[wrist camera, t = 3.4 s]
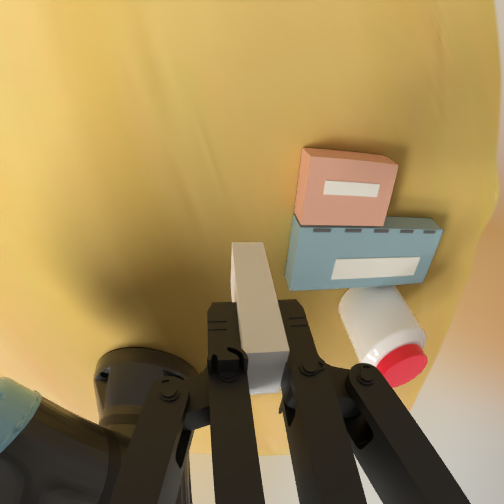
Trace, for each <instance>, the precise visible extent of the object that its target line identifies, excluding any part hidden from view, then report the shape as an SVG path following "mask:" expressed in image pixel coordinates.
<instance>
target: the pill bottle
mask: <svg viewBox="0 0 504 504" xmlns="http://www.w3.org/2000/svg"><path fill="white" fill-rule="evenodd" d="M338 312H339V316H340V318H341V320H342V323H343V325H344V327H345V329H346V332H347V334H348V337H349V339H350V341H351V344H352V346H353V348H354V351H355V353H356V356H357V358H358V360H359V363H368V364H371V365H373V366H375V367H376V368H377V369H378V370H379V371H380V372H381V373H382V375H383V376H384V377H385V379H386V380H387V382H388V383H389V384H390V386H391V387H392V388H393V387H397V386H400V385H403V384H405V383H407V382H409V381H410V380H412V379H413V378H415V377H416V376H417V375H418V374H420V373H421V372H422V370H423V369H424V368H425V366H426V364H427V361H428V360H427V357H426V355H425V353H424V351H423V348H424V345H425V343H426V334H425V332H424V330H423V328H422V327H421V325H420V323H419V322H418V320H417V319H416V317H415V315H414V314H413V312H412V311H411V309H410V307H409V306H408V304H407V303H406V301H405V300H404V298H403V297H402V295H401V293H400V292H399V290H398V289H397V287H396V286H395V285H389V286H374V287H359V288H350V289H349V290H348V291H347V292H346V293H345V294H344V295H343V297H342V298H341V300H340V303H339V306H338Z"/></svg>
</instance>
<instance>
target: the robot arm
mask: <svg viewBox="0 0 504 504" xmlns="http://www.w3.org/2000/svg"><path fill="white" fill-rule="evenodd" d="M231 297H232V302H214V303H212V304H211V306H210V308H209V310H208V311H207V315H208V359H207V366H206V368H205V369H204V371H203V372H202V373H200V374H199V375H198V374H197V372H196V371H195V370H194V369H193V368H192V367H191V366H190V365H189V364H188V363H186V362H185V361H183V360H181V359H179V358H177V357H175V356H173V355H170V354H167V353H164V352H161V351H157V350H152V349H145V348H124V349H118V350H115V351H112V352H109V353H107V354H105V355H104V356H103V357H101V358H100V360H99V361H98V363H97V366H96V370H95V375H94V388H95V395H96V401H97V407H98V412H99V425H97V424H95V423H93V422H91V421H89V420H87V419H84V418H82V417H80V416H78V415H76V414H74V413H72V412H70V411H68V410H66V409H64V408H63V407H61V406H59V405H57V404H55V403H53V402H51V401H50V400H48V399H46V398H44V397H42V395H41V394H40V393H39V392H37V391H32V390H30V389H28V388H26V387H24V386H23V385H21V384H19V383H17V382H15V381H14V380H12V379H10V378H7V377H0V504H193V503H192V494H191V480H190V462H189V449H190V445H191V441H192V437H193V433H194V430H195V429H198V428H201V427H204V426H207V425H210V429H211V447H212V462H213V477H214V491H215V503H216V504H265V500H264V493H263V486H262V479H261V473H260V465H259V458H258V451H257V443H256V436H255V429H254V421H253V414H252V406H251V399H250V394H265V393H278V392H279V391H280V387H281V389H282V395H283V397H282V400H281V404H280V407H279V414H281V413H282V411H283V416H284V422H285V427H286V432H287V438H288V443H289V449H290V454H291V459H292V464H293V470H294V475H295V481H296V486H297V492H298V497H299V502H300V504H367V502H366V498H365V495H364V491H363V487H362V483H361V479H360V476H359V472H358V469H357V465H356V461H355V458H354V455H355V456H356V458H357V460H358V462H359V464H360V465H361V467H362V468H363V470H364V472H365V474H366V475H367V477H368V479H369V480H370V482H371V484H372V486H373V487H374V489H375V491H376V492H377V494H378V495H379V497H380V499H381V501H382V502H383V504H471V503H470V502H469V500H468V499H467V497H466V496H465V494H464V493H463V491H462V490H461V488H460V486H459V485H458V483H457V482H456V480H455V479H454V477H453V476H452V474H451V473H450V471H449V470H448V468H447V467H446V465H445V464H444V462H443V461H442V459H441V458H440V457H439V455H438V454H437V452H436V450H435V449H434V447H433V446H432V445H431V443H430V442H429V440H428V439H427V437H426V436H425V434H424V433H423V432H422V430H421V429H420V427H419V426H418V424H417V423H416V421H415V420H414V418H413V417H412V416H411V414H410V413H409V411H408V410H407V408H406V407H405V406H404V404H403V403H402V401H401V400H400V398H399V397H398V396H397V394H396V393H395V391H394V390H393V389H392V387H391V386H390V384H389V383H388V382H387V380H386V379H385V377H384V376H383V375H382V373H381V372H380V371H379V370H378V369H377V368H376V367H375V366H373V365H371V364H368V363H359V364H356V365H354V366H353V367H352V368H351V370H349V369H343V368H337V367H333V366H330V365H328V364H326V363H325V361H324V360H322V359H321V358H320V357H319V355H318V353H317V350H316V347H315V344H314V341H313V337H312V334H311V331H310V328H309V326H308V322H307V319H306V315H305V312H304V309H303V307H302V306H301V305H300V304H299V302H298V301H297V300H296V299H293V300H277V297H276V292H275V288H274V284H273V280H272V276H271V272H270V268H269V264H268V260H267V256H266V252H265V248H264V244H263V242H232V254H231ZM353 453H354V454H353Z"/></svg>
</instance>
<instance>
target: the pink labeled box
mask: <svg viewBox="0 0 504 504" xmlns="http://www.w3.org/2000/svg"><path fill="white" fill-rule="evenodd" d="M398 166H399V165H398V164H396V163H395V162H394V161H392V160H391V159H389V158H388V157H386V156H384V155H376V154H368V153H359V152H349V151H339V150H328V149H316V148H302V154H301V163H300V171H299V179H298V186H297V194H296V201H295V209H294V212H295V214H296V216H297V218H298V220H299V222H300V224H301V225H342V226H383V225H384V221H385V218H386V214H387V210H388V207H389V203H390V199H391V195H392V191H393V187H394V183H395V179H396V175H397V170H398Z"/></svg>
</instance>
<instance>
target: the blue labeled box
mask: <svg viewBox="0 0 504 504" xmlns="http://www.w3.org/2000/svg"><path fill="white" fill-rule="evenodd" d="M442 233H443V229H442V228H441V227H440V226H439V225H438V224H437V223H436V222H435V221H434V220H432V219H431V218H413V217H391V216H386V218H385V221H384V225H383V226H342V225H301V224H300V222H299V220H298V218H297V216H296V214H293V221H292V228H291V235H290V242H289V249H288V256H287V263H286V269H285V278H286V281H287V284H288V287H289V291H303V290H324V289H342V288H359V287H374V286H389V285H402V284H415V283H423V281H424V278H425V276H426V274H427V271H428V269H429V267H430V264H431V262H432V259H433V257H434V254H435V252H436V249H437V246H438V244H439V241H440V238H441V236H442Z"/></svg>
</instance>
